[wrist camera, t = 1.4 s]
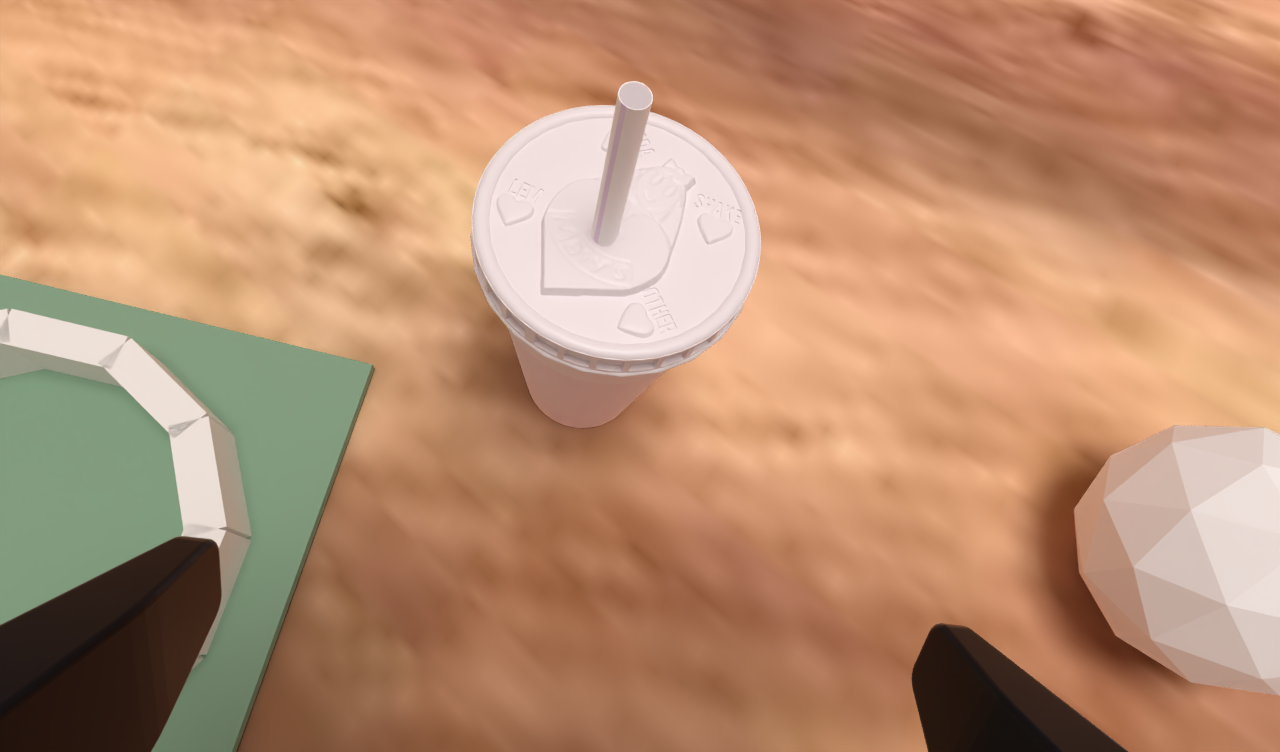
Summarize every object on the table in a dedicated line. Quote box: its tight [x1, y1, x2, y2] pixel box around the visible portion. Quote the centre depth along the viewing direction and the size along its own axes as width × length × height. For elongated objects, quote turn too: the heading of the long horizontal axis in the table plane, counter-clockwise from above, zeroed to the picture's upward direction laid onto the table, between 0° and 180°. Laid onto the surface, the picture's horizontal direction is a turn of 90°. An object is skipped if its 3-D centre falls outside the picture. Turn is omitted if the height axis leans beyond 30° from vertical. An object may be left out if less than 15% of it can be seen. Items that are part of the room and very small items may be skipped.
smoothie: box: [470, 81, 761, 428], centre depth 18 cm, size 6×6×14 cm
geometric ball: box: [1074, 425, 1280, 695], centre depth 22 cm, size 8×8×8 cm
